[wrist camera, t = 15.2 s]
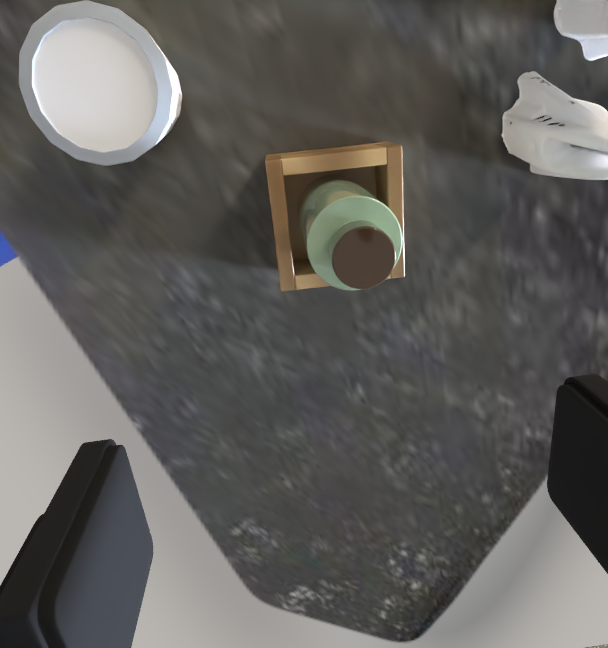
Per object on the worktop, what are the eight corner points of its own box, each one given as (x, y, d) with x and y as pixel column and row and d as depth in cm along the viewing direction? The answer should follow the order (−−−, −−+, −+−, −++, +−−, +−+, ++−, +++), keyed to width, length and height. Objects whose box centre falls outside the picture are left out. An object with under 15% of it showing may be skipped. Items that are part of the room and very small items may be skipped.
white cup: (47, 90, 29) (-16, 83, 23) (124, -5, 27) (81, -41, 21) (141, 179, 31) (108, 196, 25) (217, 96, 30) (203, 91, 23)
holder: (279, 272, 34) (281, 291, 30) (265, 155, 31) (264, 160, 27) (390, 259, 34) (405, 277, 31) (386, 141, 31) (402, 145, 28)
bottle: (300, 250, 33) (316, 314, 22) (293, 178, 31) (306, 211, 21) (369, 242, 33) (417, 302, 23) (366, 170, 31) (416, 199, 21)
